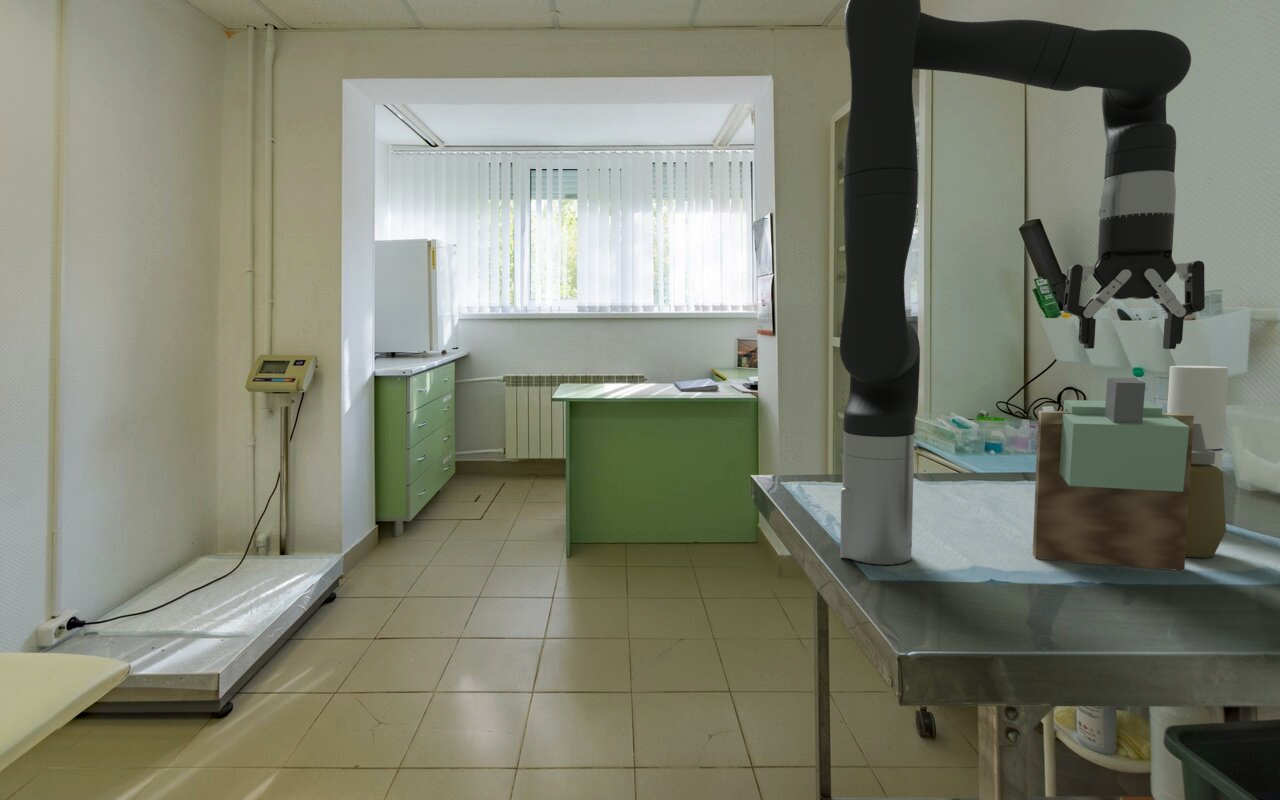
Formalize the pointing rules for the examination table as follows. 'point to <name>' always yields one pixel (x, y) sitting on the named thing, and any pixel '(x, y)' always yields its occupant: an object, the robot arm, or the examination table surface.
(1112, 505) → the wall board
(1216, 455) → the cylindrical container
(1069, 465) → the green box
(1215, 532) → the squeeze bottle
